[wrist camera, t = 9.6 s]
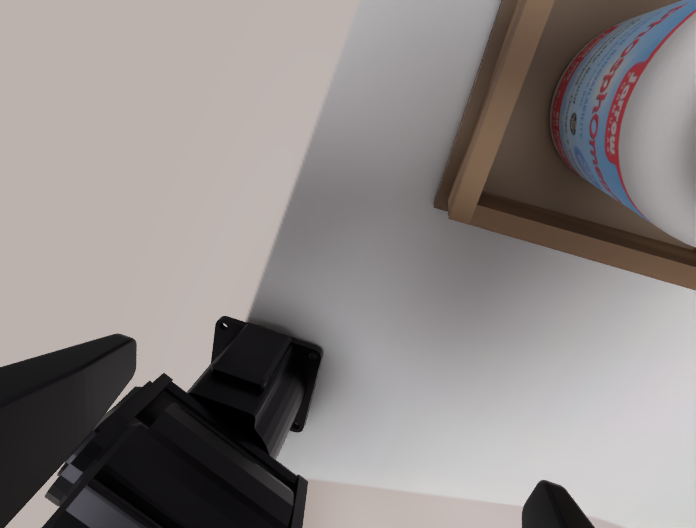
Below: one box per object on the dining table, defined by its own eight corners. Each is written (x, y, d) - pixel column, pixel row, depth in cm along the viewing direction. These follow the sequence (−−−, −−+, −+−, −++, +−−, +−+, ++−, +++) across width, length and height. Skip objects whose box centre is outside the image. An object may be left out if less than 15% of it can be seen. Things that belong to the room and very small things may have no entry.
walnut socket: (696, 278, 19) (754, 321, 15) (434, 202, 20) (431, 226, 16) (910, -43, 14) (1070, -87, 10) (541, -119, 15) (572, -183, 11)
